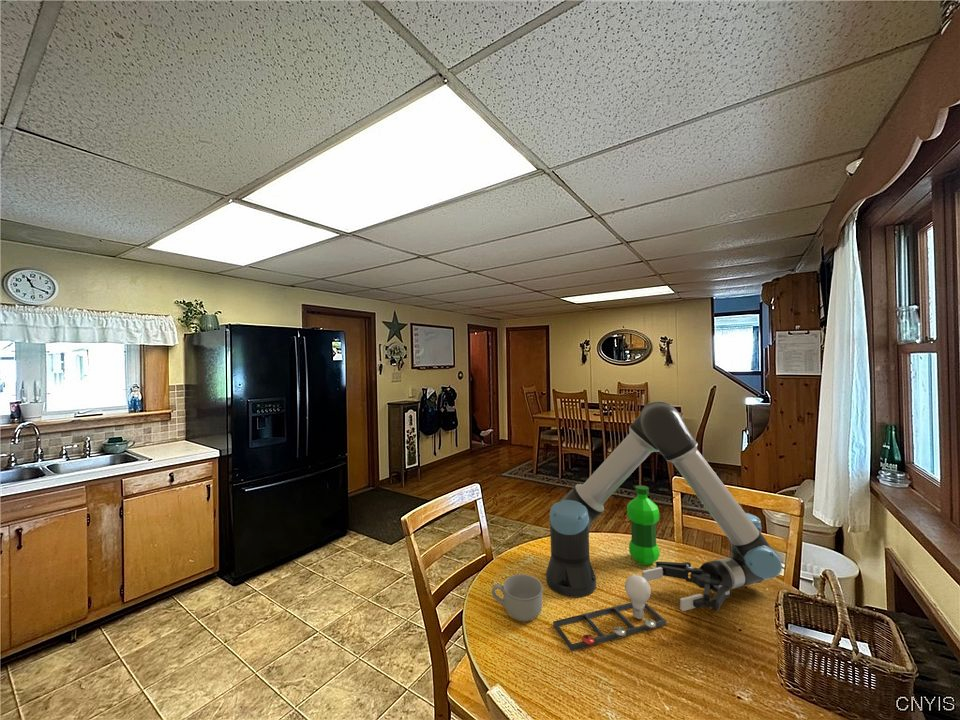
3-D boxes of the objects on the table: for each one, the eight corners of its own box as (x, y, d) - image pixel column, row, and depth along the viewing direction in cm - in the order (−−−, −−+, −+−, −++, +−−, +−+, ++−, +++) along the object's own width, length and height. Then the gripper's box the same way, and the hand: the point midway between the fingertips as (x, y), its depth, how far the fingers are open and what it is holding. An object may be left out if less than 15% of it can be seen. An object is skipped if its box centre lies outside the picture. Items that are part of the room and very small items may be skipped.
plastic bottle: (657, 572, 121) (654, 494, 121) (623, 562, 128) (621, 488, 128) (664, 559, 129) (662, 486, 129) (632, 550, 136) (630, 480, 136)
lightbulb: (646, 610, 103) (645, 570, 103) (655, 626, 96) (654, 583, 97) (622, 609, 103) (621, 569, 104) (629, 625, 97) (628, 582, 97)
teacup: (546, 605, 106) (545, 577, 106) (539, 632, 96) (538, 600, 96) (498, 597, 111) (498, 569, 111) (487, 621, 100) (486, 590, 100)
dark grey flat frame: (553, 626, 98) (553, 619, 98) (641, 604, 106) (641, 598, 106) (573, 654, 88) (573, 647, 88) (669, 628, 96) (669, 621, 96)
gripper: (766, 615, 96) (701, 635, 90) (686, 566, 120) (630, 578, 114) (765, 585, 96) (700, 603, 90) (685, 542, 120) (629, 553, 114)
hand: (660, 589), depth 102 cm, fingers open, 13 cm apart
